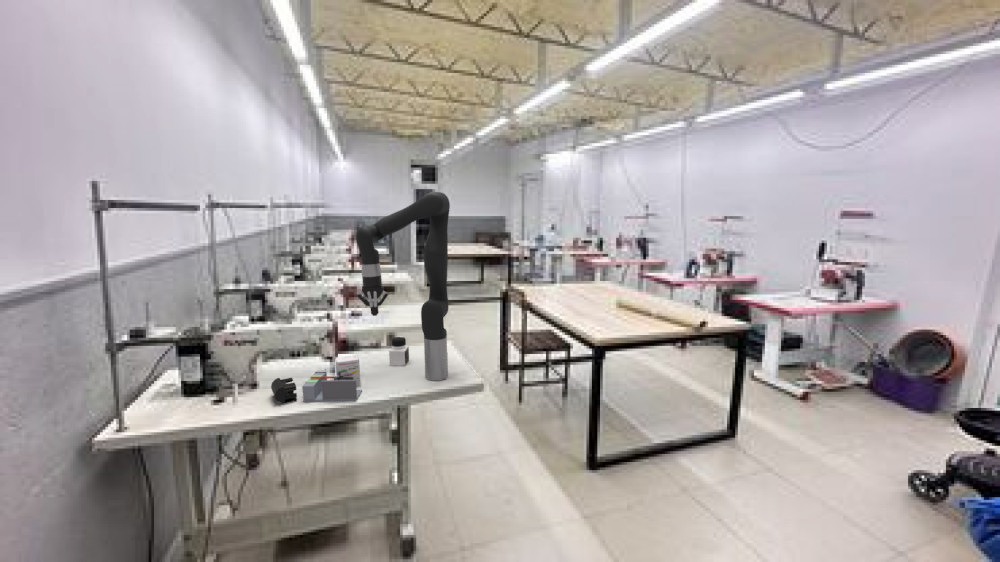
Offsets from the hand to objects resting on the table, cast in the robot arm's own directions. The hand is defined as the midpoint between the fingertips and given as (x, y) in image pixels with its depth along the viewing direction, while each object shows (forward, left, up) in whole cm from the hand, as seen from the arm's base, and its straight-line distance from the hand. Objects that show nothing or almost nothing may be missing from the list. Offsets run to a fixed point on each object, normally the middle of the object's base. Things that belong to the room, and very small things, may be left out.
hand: (374, 315), depth 180 cm
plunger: (+12, +22, -24) cm, 34 cm away
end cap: (+28, +25, -25) cm, 45 cm away
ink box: (+8, +15, -25) cm, 30 cm away
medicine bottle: (-8, -9, -25) cm, 28 cm away
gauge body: (+11, +21, -25) cm, 34 cm away
